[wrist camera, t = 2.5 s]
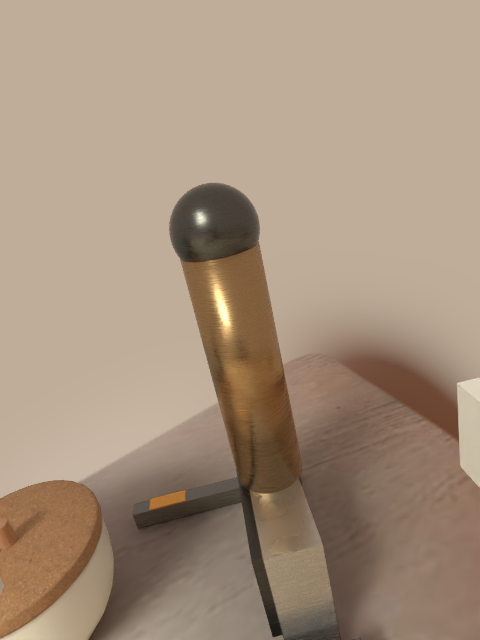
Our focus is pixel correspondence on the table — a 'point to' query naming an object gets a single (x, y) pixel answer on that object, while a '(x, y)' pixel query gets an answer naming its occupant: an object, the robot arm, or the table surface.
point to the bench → (187, 503)
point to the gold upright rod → (254, 405)
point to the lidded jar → (53, 562)
